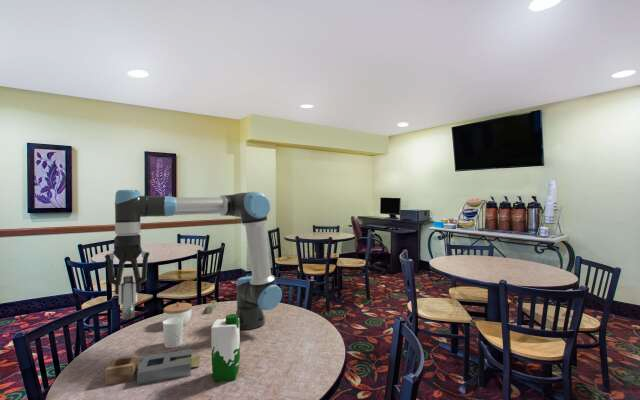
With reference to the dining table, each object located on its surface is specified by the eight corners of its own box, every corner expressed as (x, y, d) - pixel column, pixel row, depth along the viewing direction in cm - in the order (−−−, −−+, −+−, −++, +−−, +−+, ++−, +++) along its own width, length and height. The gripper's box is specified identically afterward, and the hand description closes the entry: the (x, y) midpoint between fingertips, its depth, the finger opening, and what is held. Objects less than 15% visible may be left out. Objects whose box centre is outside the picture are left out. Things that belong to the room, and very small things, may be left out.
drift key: (199, 363, 116) (199, 353, 116) (199, 366, 114) (199, 356, 114) (175, 367, 113) (175, 357, 113) (175, 370, 111) (174, 360, 111)
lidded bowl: (197, 323, 157) (197, 301, 157) (174, 332, 146) (173, 308, 146) (182, 319, 163) (181, 297, 164) (158, 327, 153) (158, 304, 153)
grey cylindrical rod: (135, 315, 111) (135, 275, 111) (133, 318, 108) (133, 277, 108) (123, 316, 110) (123, 276, 110) (121, 320, 107) (120, 278, 107)
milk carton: (237, 381, 104) (236, 320, 104) (209, 383, 103) (208, 321, 103) (241, 367, 113) (240, 311, 113) (215, 369, 112) (214, 312, 112)
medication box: (211, 314, 170) (212, 307, 170) (206, 314, 169) (206, 307, 169) (216, 307, 181) (216, 300, 181) (211, 306, 181) (211, 299, 181)
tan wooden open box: (138, 368, 114) (137, 354, 114) (133, 380, 106) (132, 365, 106) (112, 373, 111) (112, 358, 111) (105, 385, 103) (105, 369, 104)
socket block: (192, 359, 120) (191, 348, 120) (190, 375, 108) (190, 363, 108) (144, 367, 114) (144, 356, 114) (137, 385, 103) (137, 372, 103)
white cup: (175, 349, 128) (175, 324, 129) (158, 348, 130) (158, 323, 130) (187, 341, 136) (187, 317, 136) (171, 340, 138) (170, 317, 138)
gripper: (156, 232, 116) (156, 297, 115) (102, 234, 110) (102, 302, 110) (153, 234, 109) (153, 302, 108) (96, 236, 103) (96, 308, 103)
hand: (128, 302), depth 109 cm, fingers closed on grey cylindrical rod, 4 cm apart
